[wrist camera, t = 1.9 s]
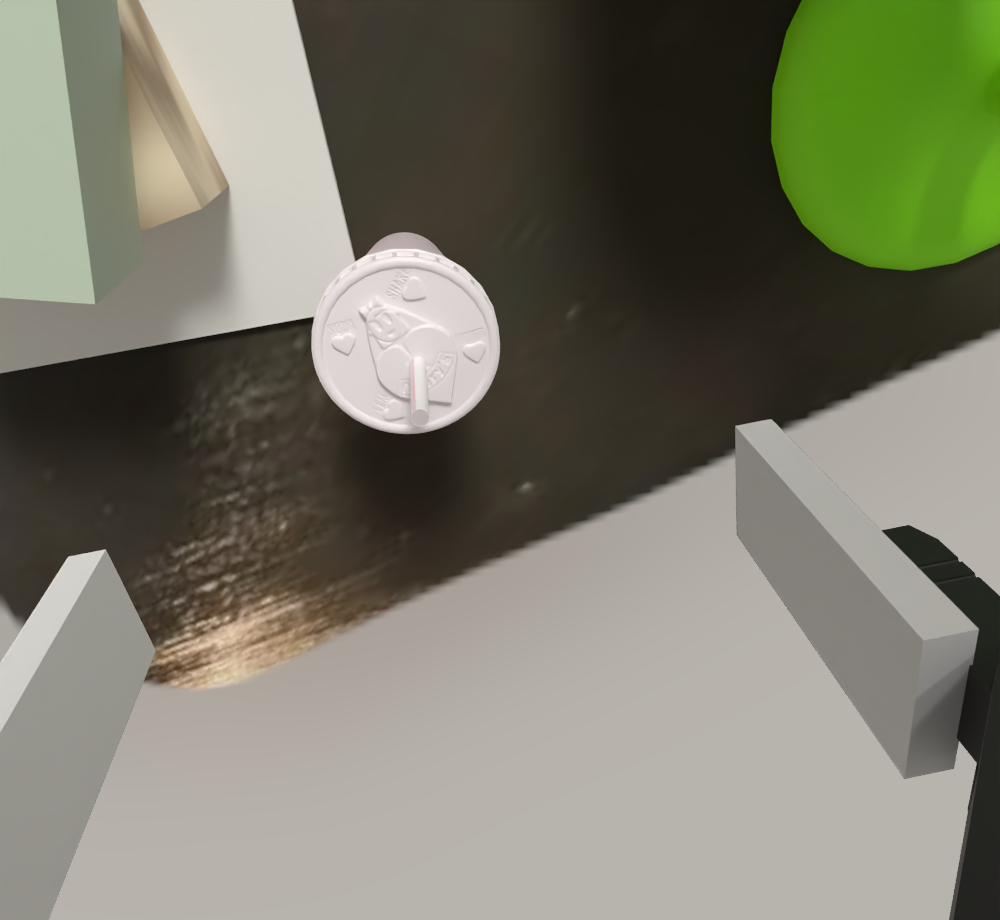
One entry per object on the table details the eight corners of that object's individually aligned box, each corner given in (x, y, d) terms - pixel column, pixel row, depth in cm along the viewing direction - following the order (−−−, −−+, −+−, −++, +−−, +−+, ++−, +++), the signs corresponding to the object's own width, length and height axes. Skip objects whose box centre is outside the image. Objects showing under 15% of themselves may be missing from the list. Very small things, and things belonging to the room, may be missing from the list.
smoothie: (395, 369, 37) (392, 535, 24) (300, 261, 34) (243, 387, 22) (505, 287, 35) (561, 418, 23) (416, 167, 33) (426, 244, 20)
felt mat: (-401, -187, 25) (-412, -190, 25) (223, -287, 25) (221, -291, 25) (-82, 385, 35) (-87, 388, 34) (366, 304, 35) (365, 307, 35)
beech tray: (-171, 4, 28) (-279, -2, 23) (88, -102, 27) (28, -129, 23) (5, 270, 32) (-56, 306, 28) (229, 185, 32) (202, 208, 27)
